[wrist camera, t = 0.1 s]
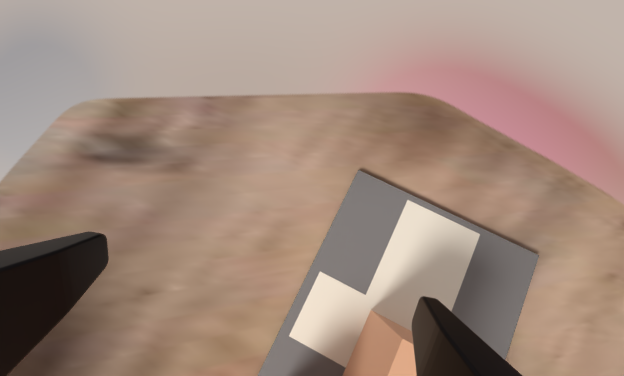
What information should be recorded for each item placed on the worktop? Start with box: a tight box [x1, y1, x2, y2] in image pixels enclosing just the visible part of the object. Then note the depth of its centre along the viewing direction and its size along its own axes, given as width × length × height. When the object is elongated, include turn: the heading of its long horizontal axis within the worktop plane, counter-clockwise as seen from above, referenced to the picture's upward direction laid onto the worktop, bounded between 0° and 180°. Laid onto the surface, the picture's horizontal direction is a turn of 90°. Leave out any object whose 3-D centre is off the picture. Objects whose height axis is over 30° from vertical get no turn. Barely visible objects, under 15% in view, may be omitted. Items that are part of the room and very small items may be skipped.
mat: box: [258, 170, 539, 376], centre depth 21 cm, size 22×15×1 cm
